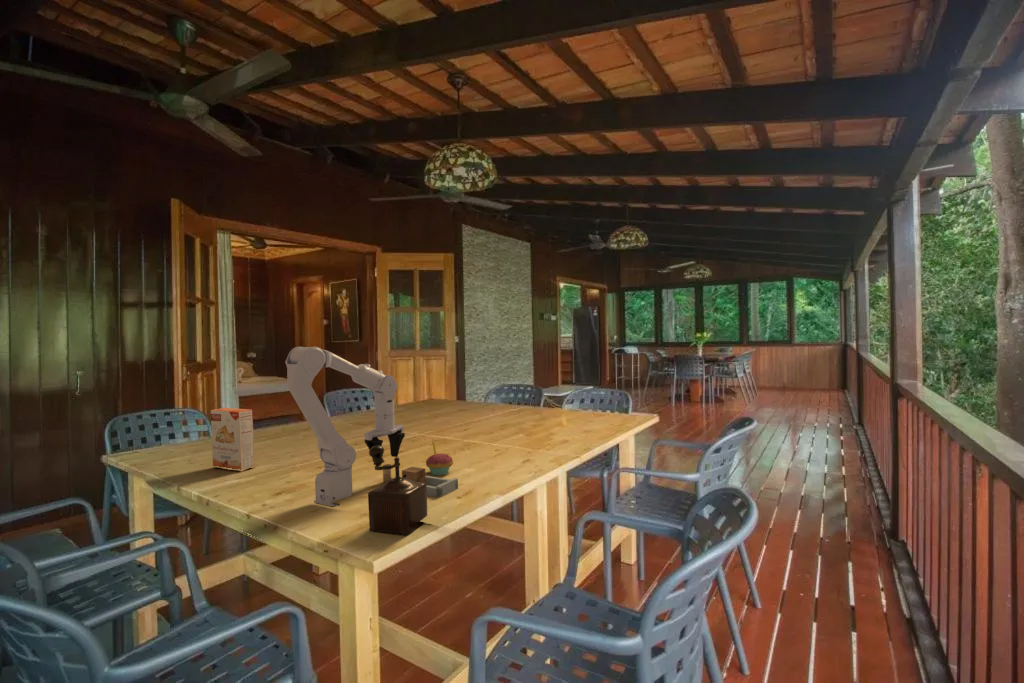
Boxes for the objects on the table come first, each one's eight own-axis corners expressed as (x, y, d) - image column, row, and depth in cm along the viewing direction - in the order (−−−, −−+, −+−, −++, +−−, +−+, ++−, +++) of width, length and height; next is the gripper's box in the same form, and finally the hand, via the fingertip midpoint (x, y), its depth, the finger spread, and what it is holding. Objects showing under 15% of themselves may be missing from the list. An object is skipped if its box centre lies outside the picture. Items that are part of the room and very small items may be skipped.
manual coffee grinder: (430, 518, 123) (428, 446, 122) (407, 536, 112) (404, 457, 112) (376, 512, 128) (374, 443, 128) (349, 529, 117) (347, 453, 117)
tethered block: (415, 489, 142) (415, 472, 142) (379, 483, 149) (378, 466, 149) (425, 485, 146) (425, 468, 146) (389, 479, 153) (389, 463, 153)
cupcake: (427, 481, 154) (426, 442, 154) (425, 473, 162) (424, 437, 162) (455, 478, 156) (454, 440, 156) (451, 471, 164) (450, 435, 164)
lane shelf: (435, 503, 134) (435, 488, 133) (386, 494, 142) (385, 480, 142) (461, 490, 144) (461, 476, 144) (413, 482, 153) (413, 469, 153)
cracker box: (211, 469, 174) (209, 409, 174) (227, 464, 180) (225, 407, 179) (240, 472, 169) (237, 411, 168) (255, 468, 174) (253, 408, 174)
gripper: (376, 419, 142) (377, 466, 142) (411, 411, 154) (411, 455, 155) (359, 417, 145) (360, 463, 145) (393, 410, 158) (394, 453, 158)
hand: (385, 459), depth 150 cm, fingers open, 7 cm apart
